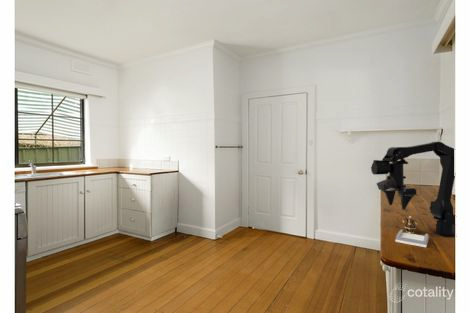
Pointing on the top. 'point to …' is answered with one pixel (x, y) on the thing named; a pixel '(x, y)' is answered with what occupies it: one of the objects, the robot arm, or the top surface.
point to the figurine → (410, 224)
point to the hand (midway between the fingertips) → (396, 207)
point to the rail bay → (412, 239)
